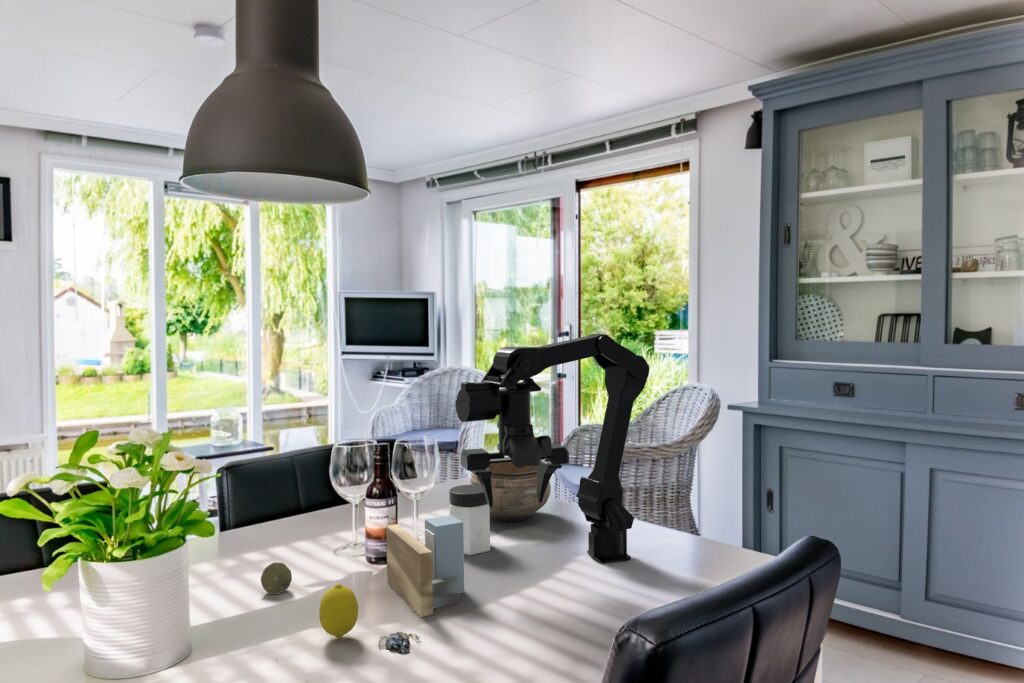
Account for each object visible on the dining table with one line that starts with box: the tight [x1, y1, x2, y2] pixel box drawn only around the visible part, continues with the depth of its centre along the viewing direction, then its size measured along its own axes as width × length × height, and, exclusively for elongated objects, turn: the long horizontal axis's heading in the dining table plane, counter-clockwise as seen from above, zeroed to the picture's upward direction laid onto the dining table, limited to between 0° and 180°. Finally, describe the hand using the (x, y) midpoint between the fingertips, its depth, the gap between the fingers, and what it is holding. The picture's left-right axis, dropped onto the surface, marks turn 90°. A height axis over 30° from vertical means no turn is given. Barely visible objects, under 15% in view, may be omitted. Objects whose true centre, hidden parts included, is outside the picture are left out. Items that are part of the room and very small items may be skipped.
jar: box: [448, 484, 491, 556], centre depth 144 cm, size 9×8×12 cm
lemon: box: [318, 583, 359, 639], centre depth 104 cm, size 6×6×8 cm
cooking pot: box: [468, 462, 552, 523], centre depth 165 cm, size 25×19×12 cm
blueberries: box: [378, 631, 421, 655], centre depth 102 cm, size 7×8×2 cm
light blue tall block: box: [424, 514, 465, 594], centre depth 122 cm, size 5×5×12 cm
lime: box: [260, 561, 293, 595], centre depth 123 cm, size 4×5×5 cm
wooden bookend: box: [385, 523, 460, 618], centre depth 120 cm, size 8×17×10 cm, turn 27°
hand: (515, 504), depth 128 cm, fingers open, 9 cm apart
